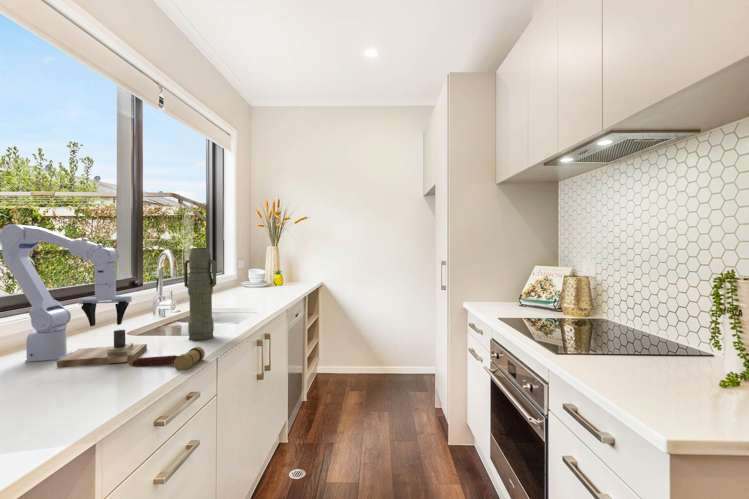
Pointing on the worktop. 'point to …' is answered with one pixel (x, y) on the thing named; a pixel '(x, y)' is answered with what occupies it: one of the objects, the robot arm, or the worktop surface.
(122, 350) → the rubber stamp
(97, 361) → the board
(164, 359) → the gavel
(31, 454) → the worktop surface
